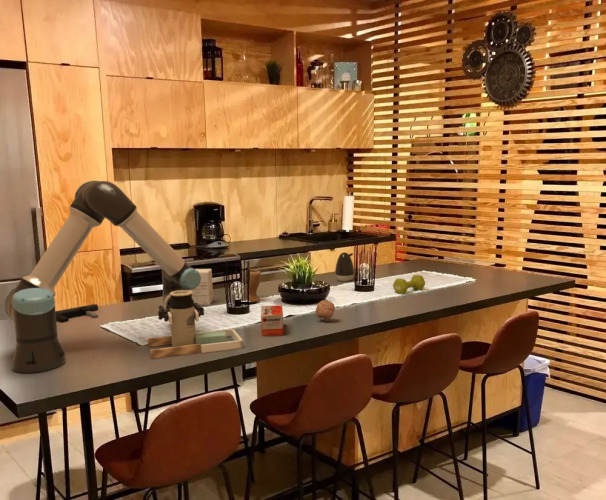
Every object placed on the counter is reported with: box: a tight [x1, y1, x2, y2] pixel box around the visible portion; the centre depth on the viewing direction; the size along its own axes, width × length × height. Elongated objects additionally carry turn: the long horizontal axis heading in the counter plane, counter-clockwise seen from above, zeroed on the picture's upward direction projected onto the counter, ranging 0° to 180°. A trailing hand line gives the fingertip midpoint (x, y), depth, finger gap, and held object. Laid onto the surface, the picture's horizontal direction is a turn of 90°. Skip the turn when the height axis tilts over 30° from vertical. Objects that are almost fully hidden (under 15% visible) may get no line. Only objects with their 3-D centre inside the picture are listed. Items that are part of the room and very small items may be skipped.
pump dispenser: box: [334, 252, 355, 282], centre depth 299 cm, size 10×10×15 cm
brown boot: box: [249, 268, 262, 304], centre depth 257 cm, size 15×12×15 cm
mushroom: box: [315, 299, 336, 323], centre depth 219 cm, size 8×6×8 cm
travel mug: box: [170, 289, 197, 347], centre depth 189 cm, size 8×8×18 cm
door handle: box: [55, 303, 99, 323], centre depth 236 cm, size 3×20×16 cm
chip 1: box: [195, 332, 211, 345], centre depth 191 cm, size 5×5×4 cm
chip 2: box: [210, 331, 227, 343], centre depth 192 cm, size 5×5×4 cm
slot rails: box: [147, 335, 201, 359], centre depth 189 cm, size 16×14×3 cm
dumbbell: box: [392, 274, 426, 295], centre depth 269 cm, size 16×8×7 cm, turn 129°
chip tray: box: [196, 328, 244, 354], centre depth 194 cm, size 14×16×2 cm
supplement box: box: [189, 268, 214, 306], centre depth 255 cm, size 9×9×15 cm
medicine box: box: [260, 304, 284, 337], centre depth 208 cm, size 15×8×8 cm, turn 4°
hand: (184, 319), depth 184 cm, fingers closed on travel mug, 8 cm apart
